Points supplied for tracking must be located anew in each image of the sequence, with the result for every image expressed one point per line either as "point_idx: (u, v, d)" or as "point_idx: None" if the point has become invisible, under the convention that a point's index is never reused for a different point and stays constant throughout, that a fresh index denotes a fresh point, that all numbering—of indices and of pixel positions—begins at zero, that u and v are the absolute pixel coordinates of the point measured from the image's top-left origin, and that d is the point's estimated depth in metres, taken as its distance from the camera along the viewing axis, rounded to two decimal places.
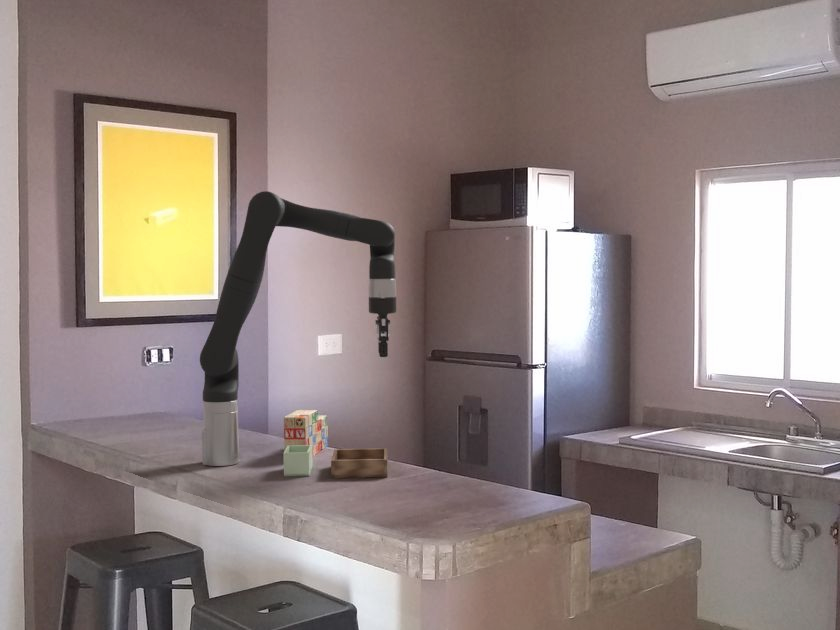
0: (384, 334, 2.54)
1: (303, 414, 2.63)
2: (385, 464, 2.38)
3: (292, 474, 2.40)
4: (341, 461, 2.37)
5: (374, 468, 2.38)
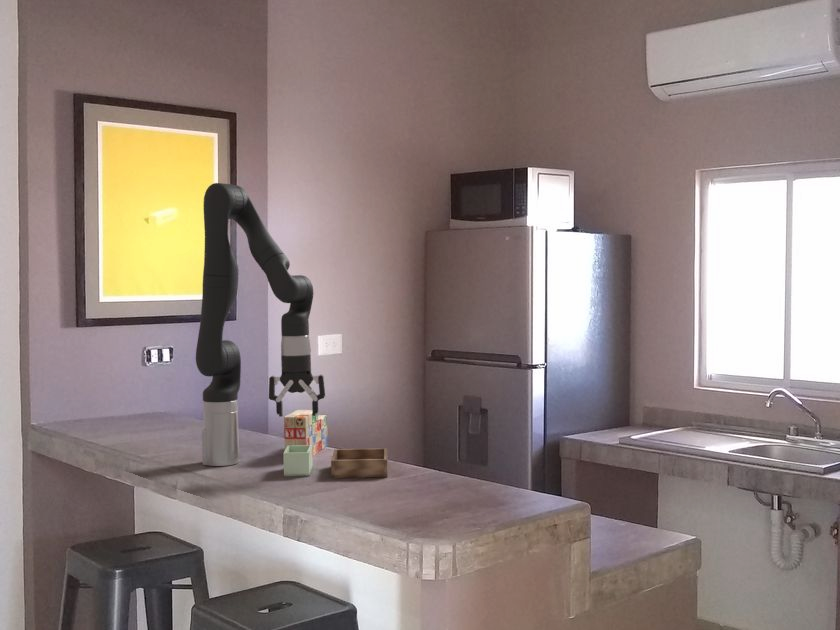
0: None
1: (303, 414, 2.63)
2: (385, 464, 2.38)
3: (292, 474, 2.40)
4: (341, 461, 2.37)
5: (374, 468, 2.38)
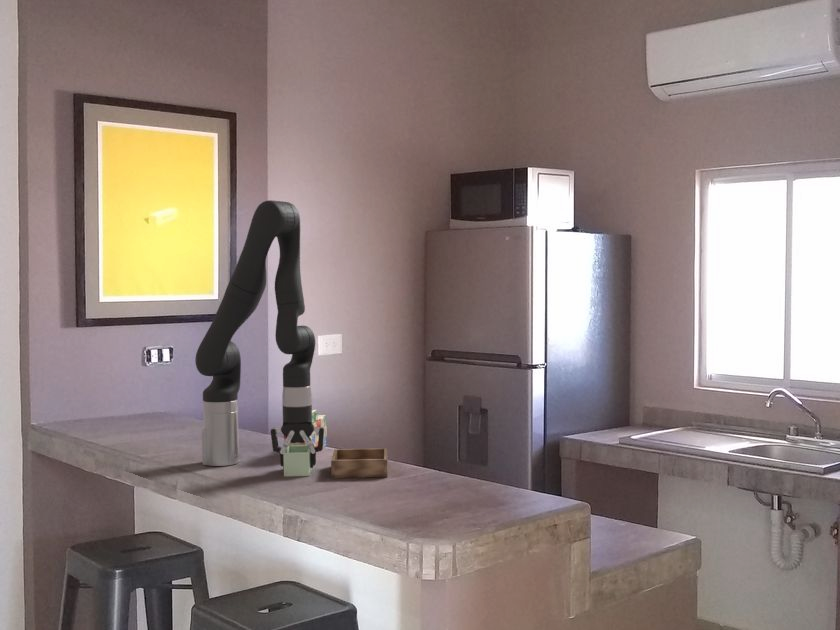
0: None
1: None
2: (385, 464, 2.38)
3: (292, 474, 2.40)
4: (341, 461, 2.37)
5: (374, 468, 2.38)
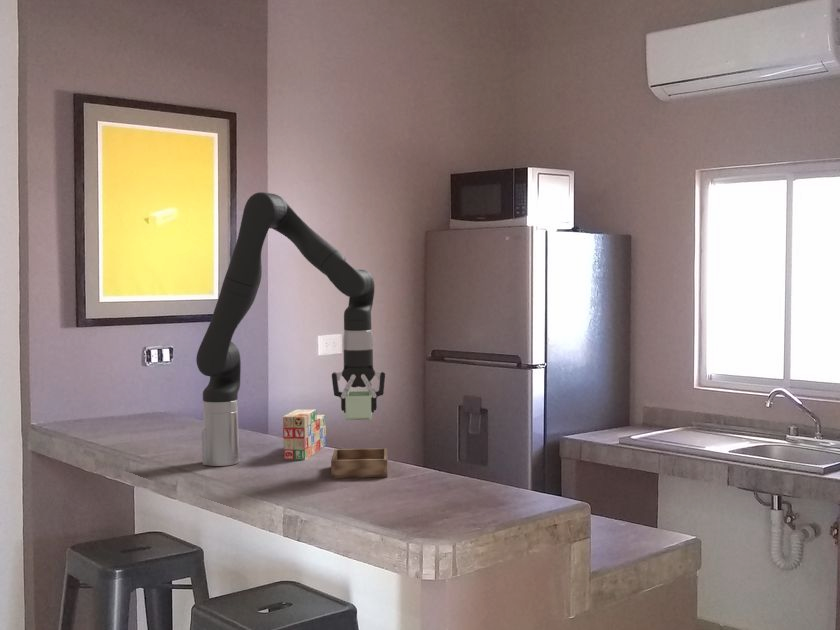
0: None
1: (302, 413, 2.64)
2: (385, 464, 2.38)
3: (354, 418, 2.39)
4: (341, 461, 2.37)
5: (374, 468, 2.38)
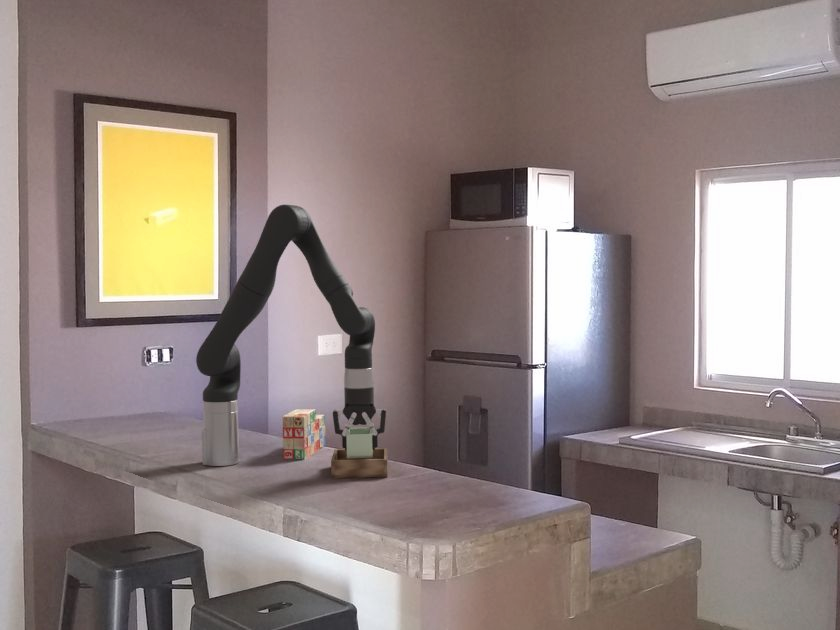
0: None
1: (302, 413, 2.64)
2: (385, 464, 2.38)
3: (355, 456, 2.40)
4: (341, 461, 2.37)
5: (374, 468, 2.38)
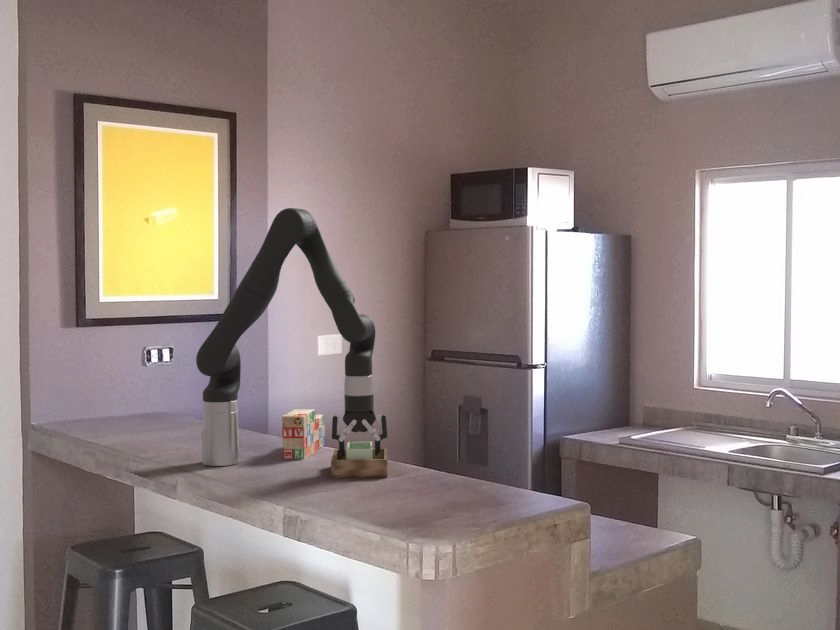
0: None
1: (301, 413, 2.65)
2: (385, 464, 2.38)
3: None
4: (341, 461, 2.37)
5: (374, 468, 2.38)
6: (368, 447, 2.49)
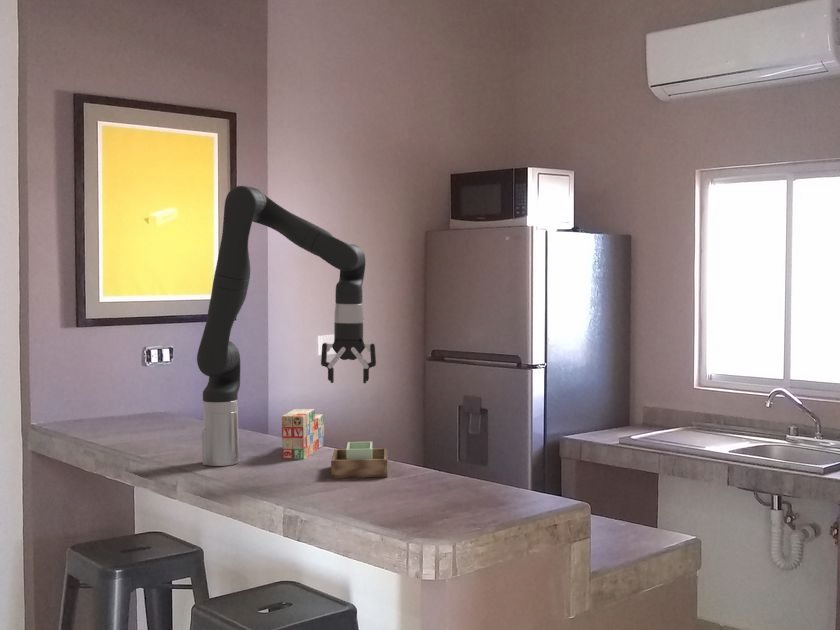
0: None
1: (301, 413, 2.65)
2: (385, 464, 2.38)
3: None
4: (341, 461, 2.37)
5: (374, 468, 2.38)
6: (368, 447, 2.49)
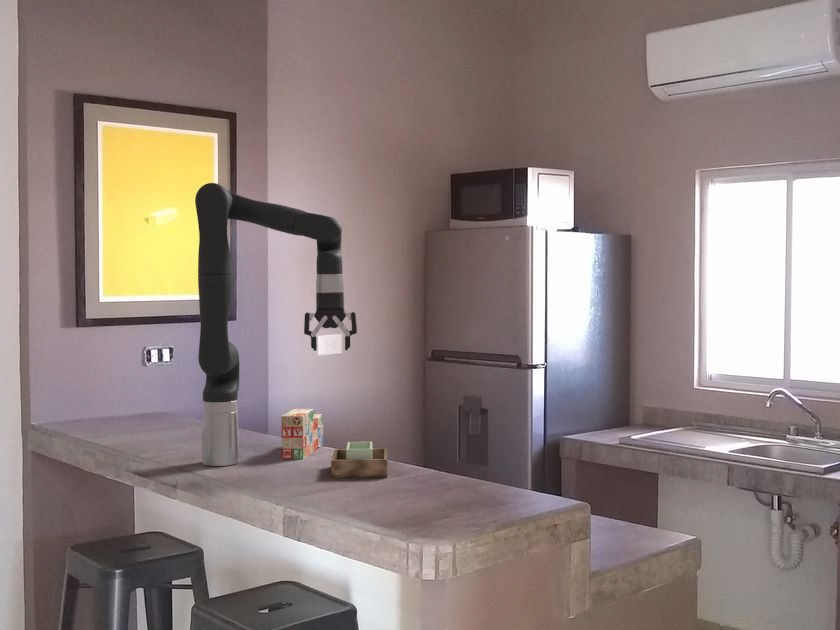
0: None
1: (300, 413, 2.65)
2: (385, 464, 2.38)
3: None
4: (341, 461, 2.37)
5: (374, 468, 2.38)
6: (368, 447, 2.49)
